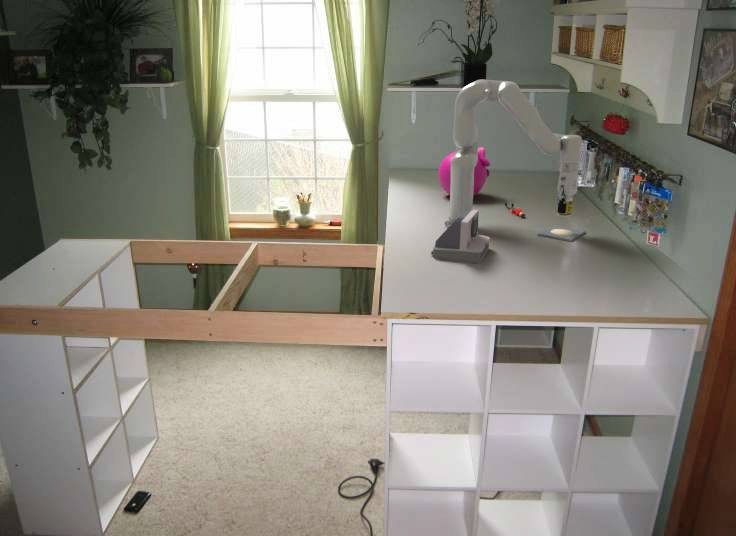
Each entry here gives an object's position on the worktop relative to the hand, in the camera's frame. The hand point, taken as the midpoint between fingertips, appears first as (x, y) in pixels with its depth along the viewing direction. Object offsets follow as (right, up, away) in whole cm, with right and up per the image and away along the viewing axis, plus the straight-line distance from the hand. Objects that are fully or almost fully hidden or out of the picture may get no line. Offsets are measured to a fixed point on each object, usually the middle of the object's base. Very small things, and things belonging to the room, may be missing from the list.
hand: (564, 210), depth 266 cm
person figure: (-12, +1, +34) cm, 36 cm away
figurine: (-32, +12, +63) cm, 72 cm away
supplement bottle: (0, -2, +1) cm, 2 cm away
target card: (0, -9, +3) cm, 10 cm away
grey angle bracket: (-45, -18, -20) cm, 52 cm away
